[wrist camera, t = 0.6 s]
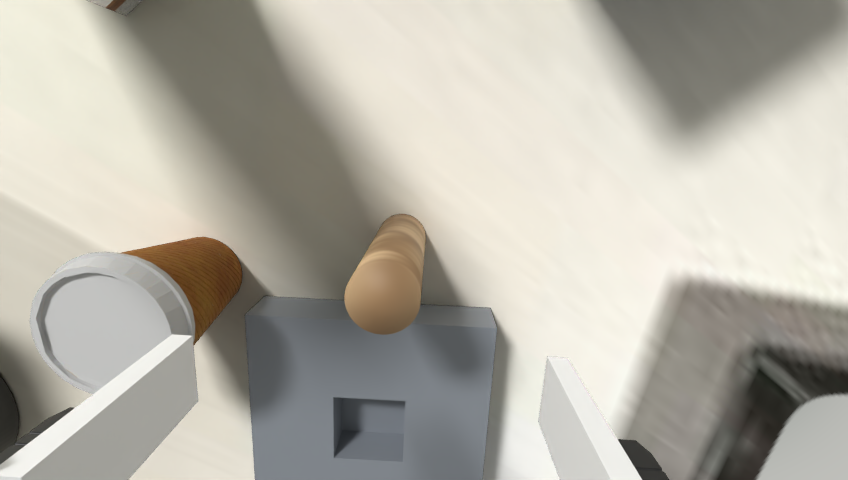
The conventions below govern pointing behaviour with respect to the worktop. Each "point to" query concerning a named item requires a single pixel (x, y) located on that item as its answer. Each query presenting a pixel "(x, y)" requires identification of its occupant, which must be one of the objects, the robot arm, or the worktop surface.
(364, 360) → the socket block
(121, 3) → the white banded pillar
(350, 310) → the oak peg
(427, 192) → the worktop surface
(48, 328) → the disposable coffee cup
